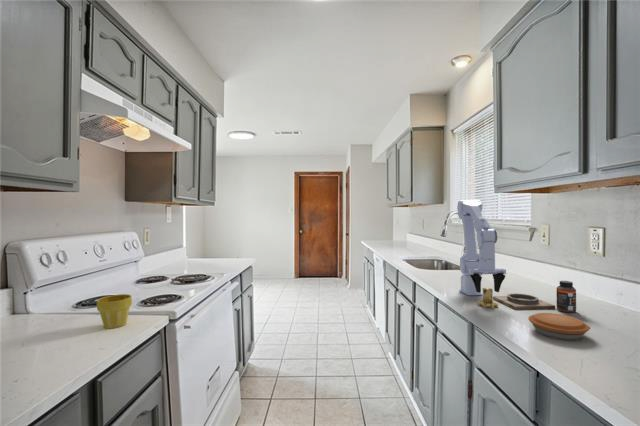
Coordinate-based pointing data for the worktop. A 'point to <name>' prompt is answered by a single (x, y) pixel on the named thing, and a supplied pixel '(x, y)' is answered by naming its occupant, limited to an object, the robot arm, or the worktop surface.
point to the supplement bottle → (566, 297)
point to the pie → (559, 326)
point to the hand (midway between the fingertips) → (487, 291)
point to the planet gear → (487, 299)
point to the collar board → (522, 306)
